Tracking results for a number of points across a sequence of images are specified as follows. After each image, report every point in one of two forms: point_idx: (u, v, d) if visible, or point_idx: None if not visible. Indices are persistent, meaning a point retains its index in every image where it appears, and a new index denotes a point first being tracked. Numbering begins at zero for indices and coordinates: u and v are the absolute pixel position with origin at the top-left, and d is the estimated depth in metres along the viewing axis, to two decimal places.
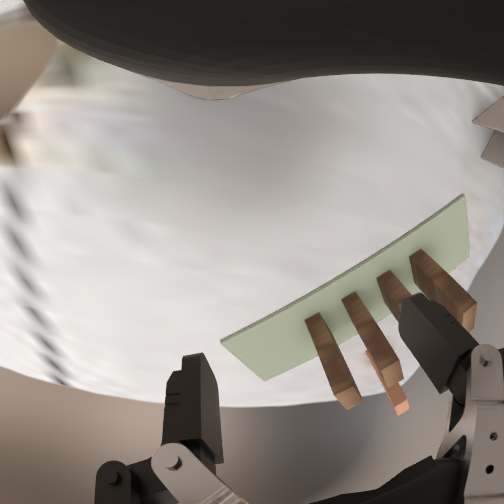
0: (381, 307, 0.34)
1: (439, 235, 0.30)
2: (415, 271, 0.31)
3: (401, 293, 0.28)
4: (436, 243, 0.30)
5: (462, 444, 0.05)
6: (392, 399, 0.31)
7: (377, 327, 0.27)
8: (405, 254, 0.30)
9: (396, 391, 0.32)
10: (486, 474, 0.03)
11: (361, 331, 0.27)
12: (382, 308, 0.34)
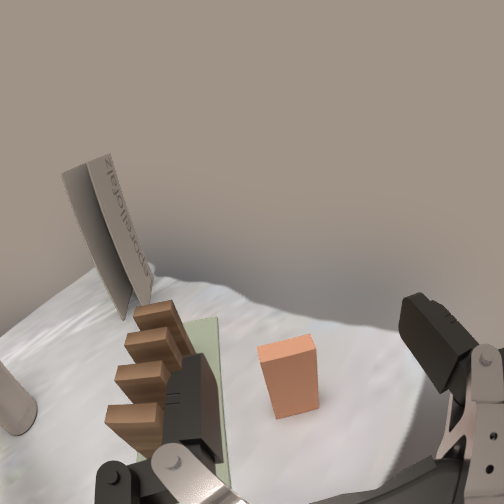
0: None
1: None
2: None
3: None
4: None
5: (462, 444, 0.05)
6: None
7: None
8: None
9: None
10: (486, 474, 0.03)
11: None
12: None
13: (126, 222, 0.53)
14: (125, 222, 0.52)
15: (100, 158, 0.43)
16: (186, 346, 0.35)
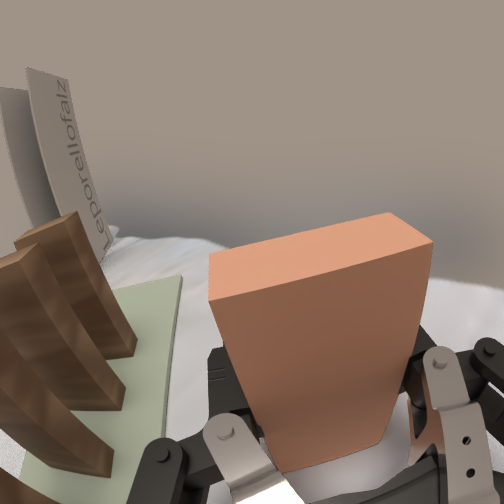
0: (127, 418, 0.14)
1: None
2: None
3: None
4: None
5: (433, 449, 0.05)
6: (223, 338, 0.06)
7: None
8: None
9: None
10: (468, 479, 0.03)
11: None
12: (130, 417, 0.14)
13: (76, 158, 0.35)
14: (74, 157, 0.34)
15: (49, 75, 0.26)
16: (102, 307, 0.17)
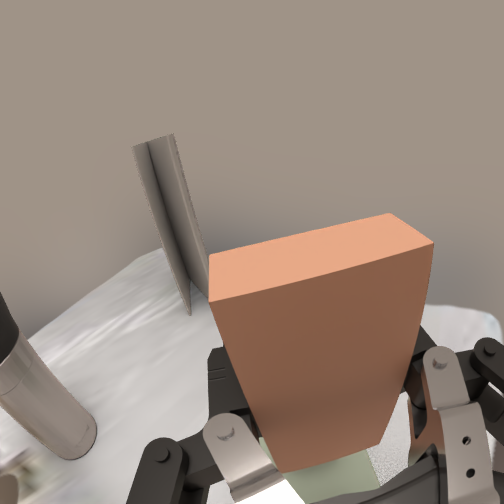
0: None
1: None
2: None
3: None
4: None
5: (434, 449, 0.05)
6: None
7: None
8: None
9: None
10: (468, 479, 0.03)
11: None
12: None
13: (192, 208, 0.51)
14: (192, 208, 0.51)
15: (171, 135, 0.42)
16: None
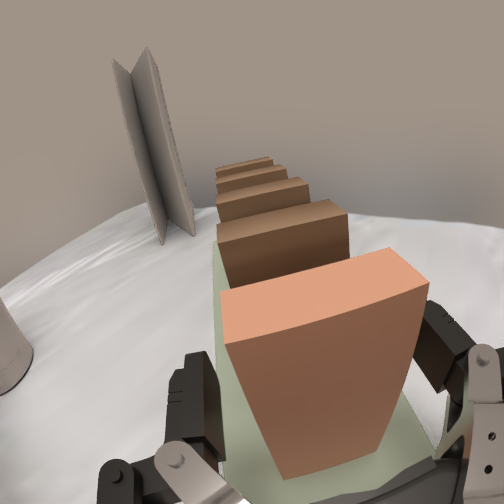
0: None
1: None
2: None
3: None
4: None
5: (461, 444, 0.05)
6: None
7: None
8: None
9: None
10: (485, 474, 0.03)
11: None
12: None
13: (172, 134, 0.45)
14: (171, 133, 0.44)
15: (153, 58, 0.36)
16: None
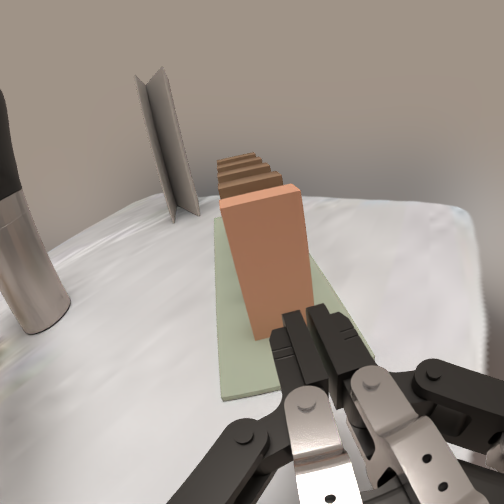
0: None
1: None
2: None
3: None
4: None
5: (393, 468, 0.05)
6: (224, 226, 0.18)
7: None
8: None
9: None
10: (442, 493, 0.03)
11: None
12: None
13: (181, 136, 0.56)
14: (180, 135, 0.55)
15: None
16: None
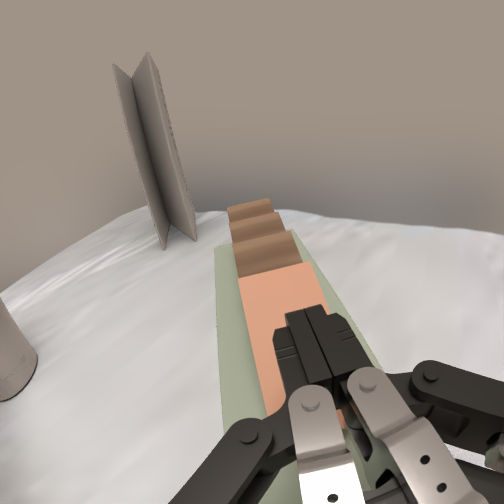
0: None
1: None
2: None
3: None
4: None
5: (391, 469, 0.05)
6: None
7: None
8: (238, 290, 0.29)
9: None
10: (441, 494, 0.03)
11: None
12: None
13: (173, 139, 0.45)
14: (172, 138, 0.45)
15: (154, 63, 0.36)
16: None
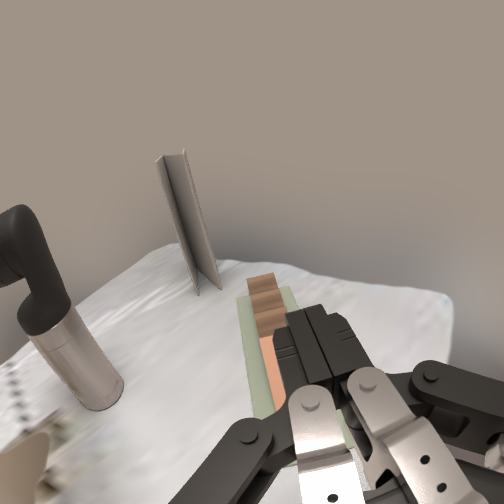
0: None
1: None
2: None
3: None
4: None
5: (390, 469, 0.05)
6: None
7: None
8: (255, 333, 0.47)
9: None
10: (441, 493, 0.03)
11: None
12: None
13: (200, 209, 0.64)
14: (200, 209, 0.63)
15: (184, 152, 0.55)
16: None
